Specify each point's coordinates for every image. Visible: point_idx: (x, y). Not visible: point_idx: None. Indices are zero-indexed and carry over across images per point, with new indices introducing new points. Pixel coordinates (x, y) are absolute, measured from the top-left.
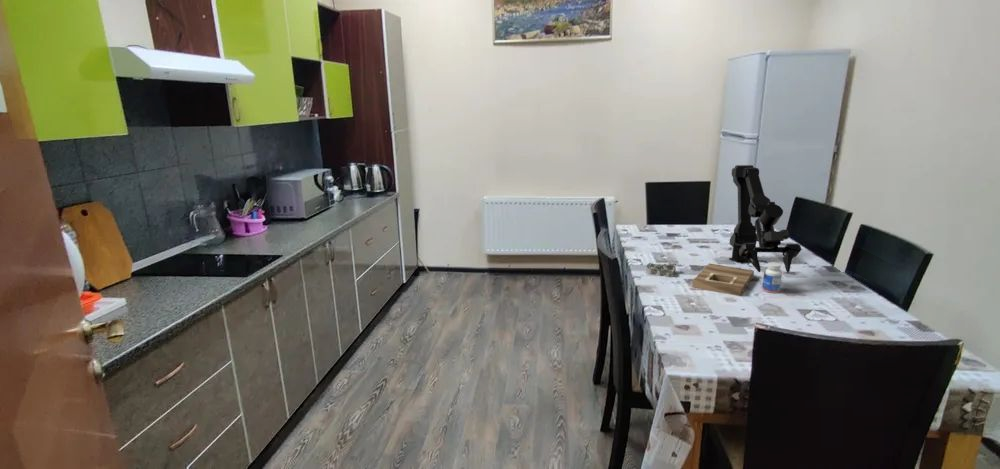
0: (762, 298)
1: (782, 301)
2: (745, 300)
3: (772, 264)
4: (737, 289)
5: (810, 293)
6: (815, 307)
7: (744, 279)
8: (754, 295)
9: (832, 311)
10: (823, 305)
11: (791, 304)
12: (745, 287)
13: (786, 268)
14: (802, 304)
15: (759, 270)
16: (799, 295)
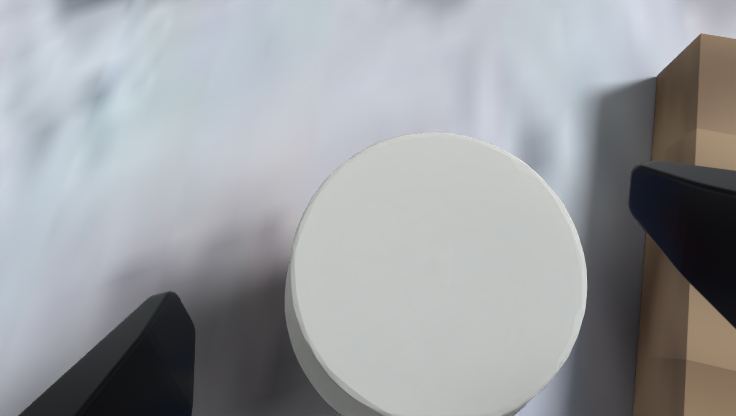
0: (481, 86)
1: (332, 74)
2: (607, 5)
3: (472, 232)
4: (731, 46)
5: (51, 351)
6: (116, 37)
7: (726, 364)
8: (547, 132)
9: (24, 5)
10: (44, 93)
11: (274, 37)
12: (652, 270)
13: (174, 390)
14: (194, 63)
15: (658, 162)
16: (166, 260)
